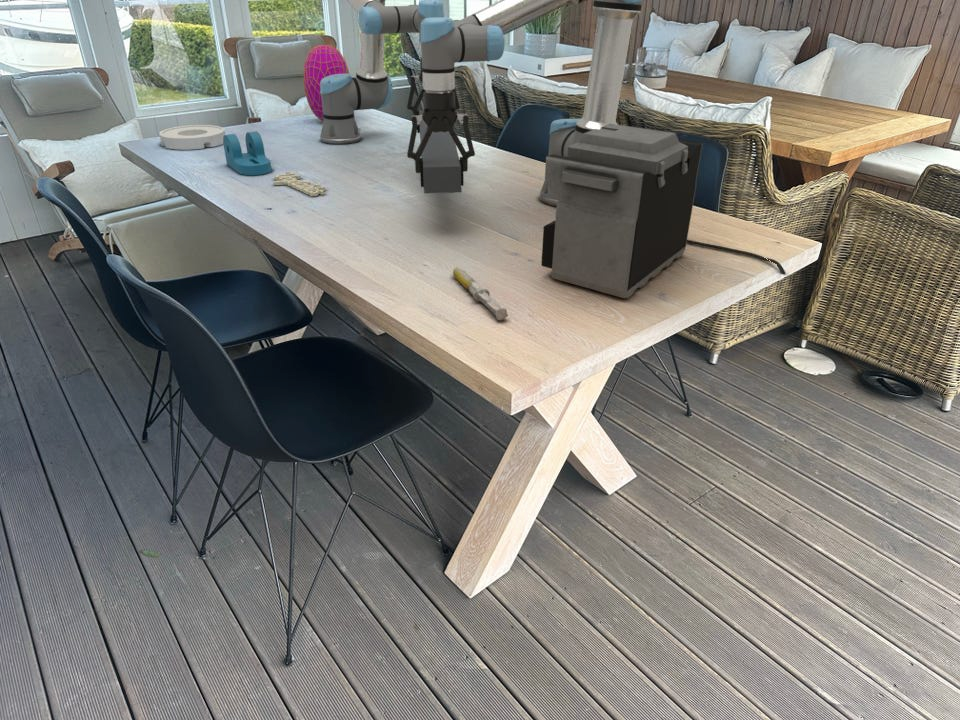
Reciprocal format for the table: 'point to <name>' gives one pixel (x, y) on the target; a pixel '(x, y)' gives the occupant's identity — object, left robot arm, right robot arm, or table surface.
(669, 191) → the dark grey storage case
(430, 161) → the thick board
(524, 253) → the table surface
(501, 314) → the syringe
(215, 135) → the ashtray
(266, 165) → the camera mount
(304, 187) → the decorative sign
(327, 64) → the decorative egg
